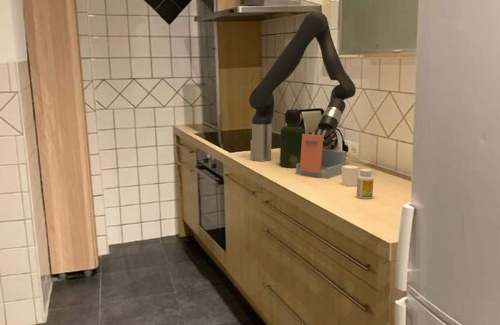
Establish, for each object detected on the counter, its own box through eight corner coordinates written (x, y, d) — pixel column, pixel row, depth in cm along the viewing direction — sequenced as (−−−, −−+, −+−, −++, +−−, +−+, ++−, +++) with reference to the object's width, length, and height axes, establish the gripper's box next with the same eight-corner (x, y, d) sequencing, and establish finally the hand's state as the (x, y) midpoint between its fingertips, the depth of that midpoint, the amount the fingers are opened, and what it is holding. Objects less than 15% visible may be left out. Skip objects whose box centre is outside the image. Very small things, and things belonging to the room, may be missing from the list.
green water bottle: (307, 167, 225) (308, 110, 220) (285, 168, 222) (286, 111, 217) (297, 163, 235) (299, 108, 230) (276, 164, 231) (277, 109, 227)
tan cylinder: (337, 183, 195) (337, 165, 194) (352, 182, 198) (353, 164, 196) (346, 187, 189) (347, 169, 188) (362, 186, 191) (363, 167, 190)
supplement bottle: (353, 197, 175) (354, 169, 173) (361, 194, 179) (363, 167, 177) (367, 200, 172) (368, 172, 170) (375, 197, 176) (376, 169, 174)
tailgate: (301, 170, 210) (303, 133, 208) (320, 173, 204) (323, 135, 202) (299, 170, 208) (301, 133, 206) (318, 173, 203) (320, 135, 201)
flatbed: (314, 167, 224) (315, 147, 222) (345, 172, 215) (346, 151, 213) (296, 173, 212) (296, 152, 211) (327, 178, 203) (328, 156, 202)
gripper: (313, 113, 216) (297, 145, 209) (341, 115, 208) (326, 148, 201) (319, 124, 221) (303, 156, 214) (347, 127, 213) (332, 160, 206)
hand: (314, 152), depth 207 cm, fingers closed
